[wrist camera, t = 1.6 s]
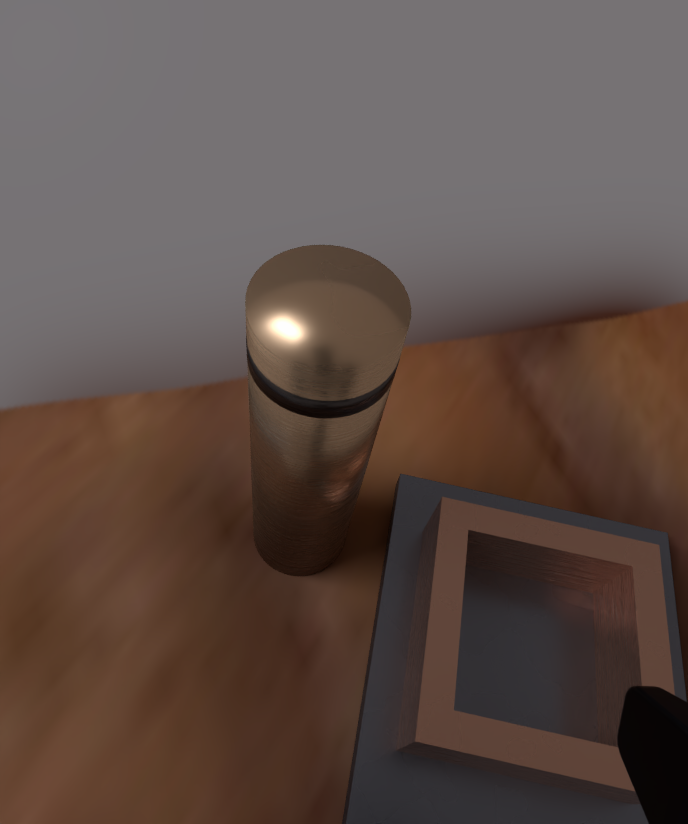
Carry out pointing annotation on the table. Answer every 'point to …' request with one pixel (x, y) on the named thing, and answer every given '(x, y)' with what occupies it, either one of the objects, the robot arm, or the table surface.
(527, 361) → the table surface
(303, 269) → the gold metallic cylinder
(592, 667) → the frame
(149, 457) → the table surface
